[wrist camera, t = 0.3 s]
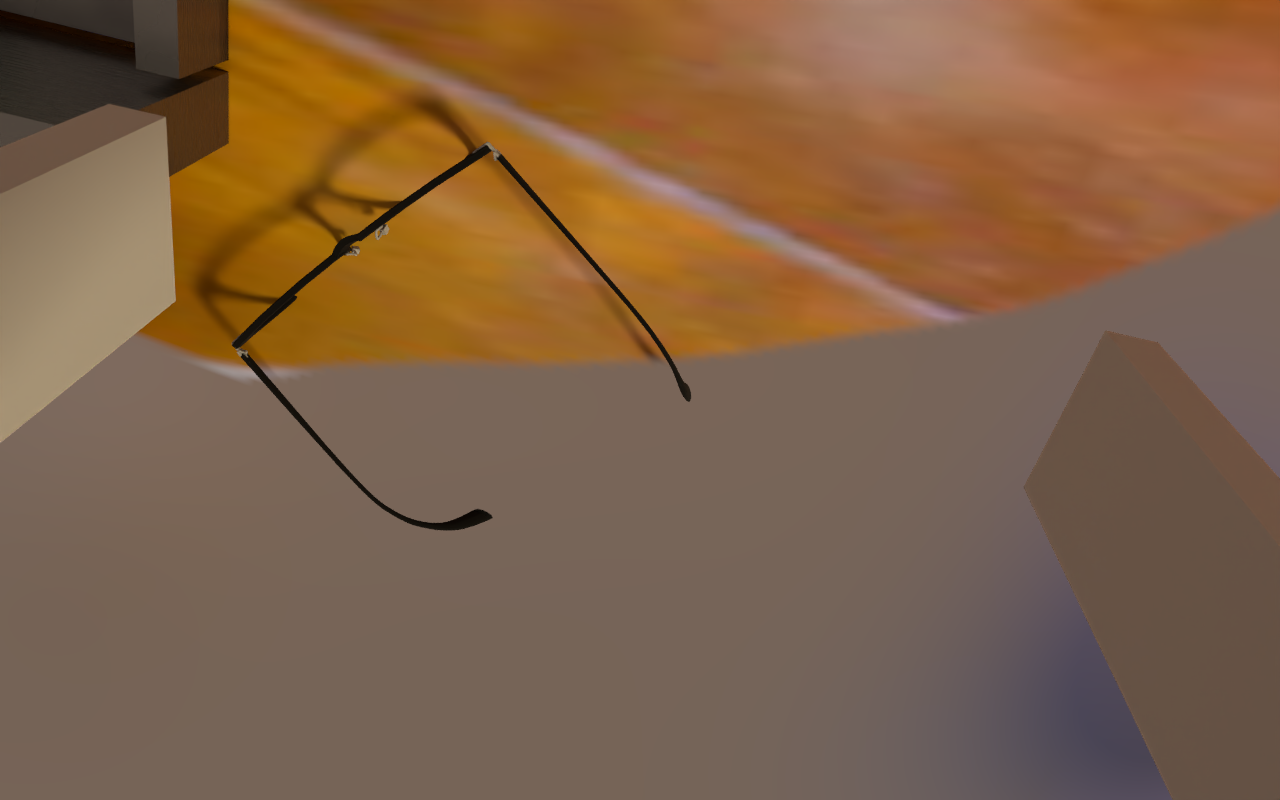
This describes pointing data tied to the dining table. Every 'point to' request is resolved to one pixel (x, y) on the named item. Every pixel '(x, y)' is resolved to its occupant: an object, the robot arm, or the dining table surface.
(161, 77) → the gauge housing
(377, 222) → the eyeglasses
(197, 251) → the dining table surface
